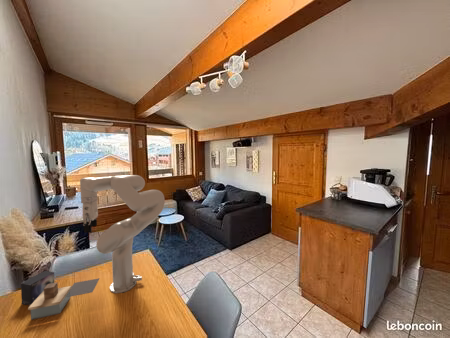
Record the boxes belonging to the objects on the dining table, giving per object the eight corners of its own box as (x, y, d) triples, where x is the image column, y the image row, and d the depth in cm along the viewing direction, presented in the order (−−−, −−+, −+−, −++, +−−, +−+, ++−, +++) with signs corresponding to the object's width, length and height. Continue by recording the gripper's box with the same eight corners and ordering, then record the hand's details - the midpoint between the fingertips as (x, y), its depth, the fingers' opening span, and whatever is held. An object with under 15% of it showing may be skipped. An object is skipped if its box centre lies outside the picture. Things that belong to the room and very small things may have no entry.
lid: (71, 287, 94) (70, 275, 94) (60, 303, 83) (59, 290, 83) (43, 292, 91) (42, 280, 90) (28, 310, 80) (27, 296, 80)
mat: (99, 278, 109) (99, 278, 109) (92, 292, 97) (92, 292, 97) (74, 283, 105) (74, 282, 105) (63, 298, 94) (63, 297, 94)
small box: (31, 306, 89) (30, 284, 88) (20, 304, 90) (19, 283, 89) (55, 291, 99) (54, 271, 98) (45, 289, 100) (44, 270, 100)
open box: (70, 298, 94) (69, 288, 93) (60, 314, 84) (59, 303, 84) (44, 303, 90) (44, 293, 90) (31, 320, 81) (30, 309, 81)
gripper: (91, 202, 101) (93, 233, 102) (101, 196, 117) (102, 223, 118) (74, 203, 98) (76, 235, 99) (87, 197, 115) (88, 225, 116)
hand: (90, 229), depth 109 cm, fingers open, 9 cm apart
